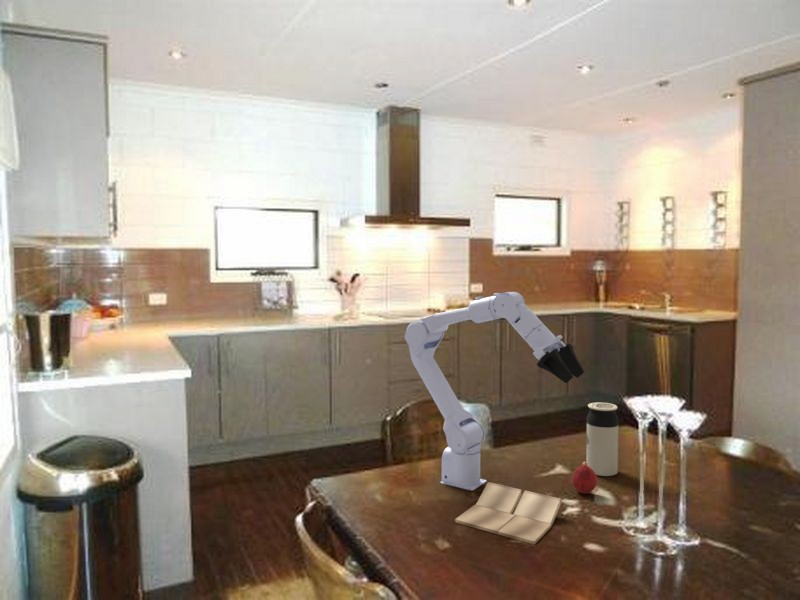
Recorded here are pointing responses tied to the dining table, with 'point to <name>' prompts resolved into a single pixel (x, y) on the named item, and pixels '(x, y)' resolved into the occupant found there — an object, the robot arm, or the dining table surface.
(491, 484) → the plank
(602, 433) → the travel mug
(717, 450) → the dining table surface
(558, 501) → the plank
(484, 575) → the dining table surface
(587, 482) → the onion
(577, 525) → the dining table surface
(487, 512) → the laid row
